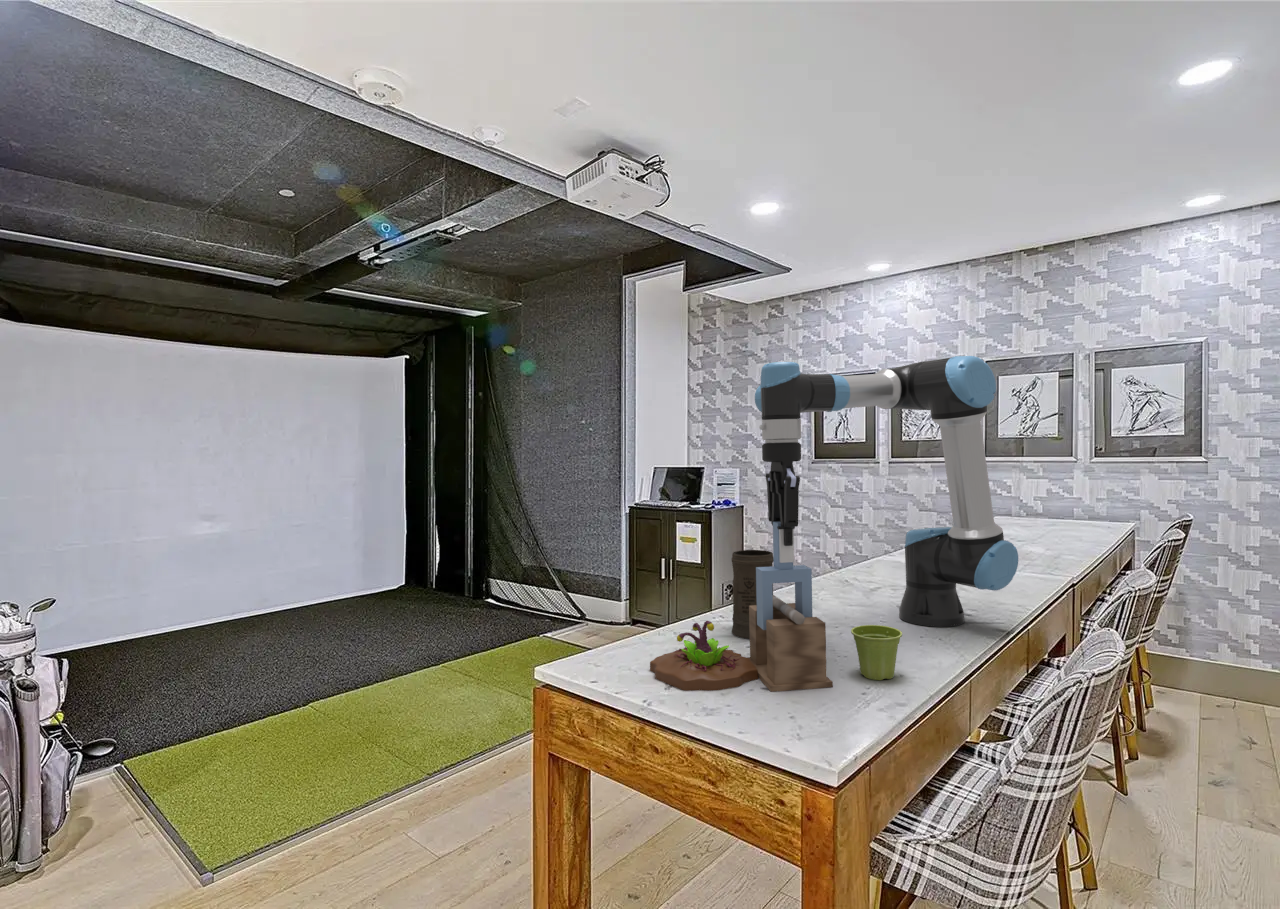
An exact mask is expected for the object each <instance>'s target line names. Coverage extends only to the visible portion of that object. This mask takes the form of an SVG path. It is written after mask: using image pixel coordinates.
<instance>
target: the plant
mask: <svg viewBox="0 0 1280 909" xmlns="http://www.w3.org/2000/svg"><path fill="white" fill-rule="evenodd" d="M714 629H715V625H714V623H713V622H712V621H710V620H705V621H704V622H703V625H702V627H701V625H700V624H699V623H698V622H695V623H693V625H692V630H693V631H696V632H697V631H698V634H699V635H698V636H699V637H698V636H696V635H695V634H693V633H692V632H683V633H679V634H677V636H676V641H677V642H683V643H684V644H683V645H684V647H683V648H679V649H676V650H675V651H674V650H673V651H672V652H668V653H663V654H662V655H659V656H656V657H655V658H654V659H652V660H651V661H650V662H649V671H650V672H652V673H654V678H655V680H657V681H660V682H663V683H665V684H666V685H670V686H673V687H675V689H679V690H681V691H683V692H684V691H685V692H690V691H691V692H693V691H704V692H705V691H707V692H708V691H709V692H711V691H712V692H713V691H722V690H727V689H733V688H739V687H741V686H742V685H743V684H746V683H749V682H752V681H756V680H759V678H758V670H757V668H756V667H755V665H754V664H753V663H752V662H751V661H750V660H749V659H748V658H747V657H746V656H742V654H741V653H737V652H734V651H733V650H731V649H728V648H730V645H724V646H721V647H718V645H719V643H720V641H719V640H718V639H717V640H716V639H715V638H714V637H712V638H710V639H708V636H707V630H708V631H710V632H712V631H714ZM687 636H688V637H690V638H692V639H693V640H694V643H693V642H692V641H689V640H686V639H684V638H685V637H687Z"/></svg>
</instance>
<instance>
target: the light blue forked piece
mask: <svg viewBox="0 0 1280 909" xmlns="http://www.w3.org/2000/svg"><path fill="white" fill-rule="evenodd" d="M777 526H781V522H773V526H772V553H773V558H774V561H773V565H772V567H756V597H757V625H758V626H759V627H760V628H761V629H763V630H766V620H772V619H773V595H774V592H773V593H772V583H773V584H785V583H787V584H788V583H794V603H795V610H796V611H798V612H799V613H801V614H802V615H804V617H813V574H812V572H813V571H812V570H813V569H812V567H809V566H807V565H805V564H799V565H798V564H797V565H796V564H795V565H794V562H786V563H780V560H779V529H777Z"/></svg>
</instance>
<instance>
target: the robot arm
mask: <svg viewBox="0 0 1280 909" xmlns="http://www.w3.org/2000/svg"><path fill="white" fill-rule="evenodd" d="M800 370H801V369H800V364H799V363H797V362H793V361H776V362H769V363H766V364H764V365H763V366H762V367H761V370H760V385H758V387H757V388H756V390H755V392H754V403H755V404H754V405H755V406H756V408H757V410H758V411H759V412H761V424H760V425H759V430H760V431H761V440H762V441H765V443H763V442H762V444H761V458H762V461H763V462H765V463H770V469H769V470H770V471H769V473H765V476H764V477H765V479H766V481H765V482H766V490H767V491H766V495H767V512H768V513H767V514H768V518H767V519H768V522H770V523H771V526H772V527H773V522H781V526H777V529H779V560H780V563H786V562H793V563H795V546H794V545H795V538H794V536H795V535H794V534H795V531H794V529H795V528H797V527H799V498H800V497H799V495H800V494H799V489H800V484H801V483H800V482H801V477H800V475H796V473H795V469H794V464H793V463H794V462H800V461H802V443H801V442H799V440H801V439H802V419H801V416H802V415H801V414H802V413H803V414H804V413H815V412H817V413H818V412H827V413H831V412H839V411H841V410H844V409H845V410H846V409H852V408H855V409H856V408H866V407H878V408H879V409H882V410H890V409H896V410H897V409H899V410H914V411H930V417H931V421H933V422H934V423H935V424H936V425H938V426H939V430H940V436H941V438H940V439H941V444H942V451H943V452H942V453H943V459H944V466H945V472H946V480H947V487H948V495H949V496H948V497H949V501H950V509H951V515H952V523H953V525H952V526H951V527H950V526H947V527H945V526H944V527H928V528H927V527H925V528H917V529H916V528H915V529H911V530H909V531H907V533H906V535H905V544H904V558H905V561H904V562H905V590H904V593H903V596H902V599H901V602H900V605H899V609H898V612H899V614H898V615H899V616H898V617H899V619H900V620H901V621H904V622H905V623H909V624H913V625H918V626H919V625H920V626H924V627H926V626H927V627H933V628H934V627H937V628H939V627H940V628H941V627H943V628H944V627H946V628H947V627H956V626H960V625H963V624H965V612H964V608H963V606H962V603H961V600H960V597H959V594H958V592H957V584H958V585H961V586H967V587H970V588H971V587H972V588H974V589H975V588H976V589H978V590H988V591H1000V590H1002V589H1004V588H1006V587H1008V585H1009V584H1010V583H1011V582H1012V581H1013V578H1014V576H1015V575H1016V572H1017V570H1018V567H1019V552H1018V549H1017V547H1016V546H1015V545H1014V544H1013V543H1012V542H1010V541H1009V540H1007V539H1005V536H1004V530H1003V528H1002V527H1001V526H1000V525H998V524H996V522H995V519H994V518H995V516H994V510H993V509H994V508H993V503H992V502H993V501H992V495H991V489H990V480H989V473H988V466H987V458H986V450H985V444H984V443H985V442H984V435H983V428H982V419H983V418H984V417H985V416H986V414H987V413H988V408H987V406H989V405H990V404H991V403H992V402H993V400H994V398H995V394H996V393H997V383H996V378H995V375H994V373H993V370H992V368H991V367H990V365H989V364H988V363H987V362H985V361H984V360H983V359H982V358H980V357H979V356H975V355H957V356H951V357H945V358H939V359H933V360H932V359H931V360H927V361H926V360H925V361H924V360H923V361H918V362H914V363H911V364H910V363H909V364H905V365H902V366H899V367H893V368H884V369H880V370H878V371H877V372H875V373H873V374H872V373H871V374H870V373H869V374H855V375H854V374H853V375H839V374H832V373H829V374H827V373H826V374H824V373H823V374H822V373H821V374H819V373H817V374H815V373H810V374H809V373H807V374H806V373H802V372H801V371H800ZM773 559H774V558H773Z"/></svg>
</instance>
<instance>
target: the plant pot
mask: <svg viewBox="0 0 1280 909" xmlns="http://www.w3.org/2000/svg"><path fill="white" fill-rule="evenodd" d="M850 632H851V634H852V635H853V640H854V641H855V646H856V651H857V657H858V658H857V659H858V663H859V664H858V665H859V670H860V674H861V675H863V676H864V678H867V679H869V680H874V681H883V680H884V679H885V680H886V679H887V680H891V679H893V678H894V677H895V671H896V670H895V669H896V662H897V653H898V646H899V644H900V640H901V638H902V636H903V632H902V631H901V630H900V629H899V628H898V629H897V628H895V627H891V626H887V625H881V624H880V625H878V624H864V625H863V624H862V625H857V626H855V627H854V626H853V628H851V629H850Z"/></svg>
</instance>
